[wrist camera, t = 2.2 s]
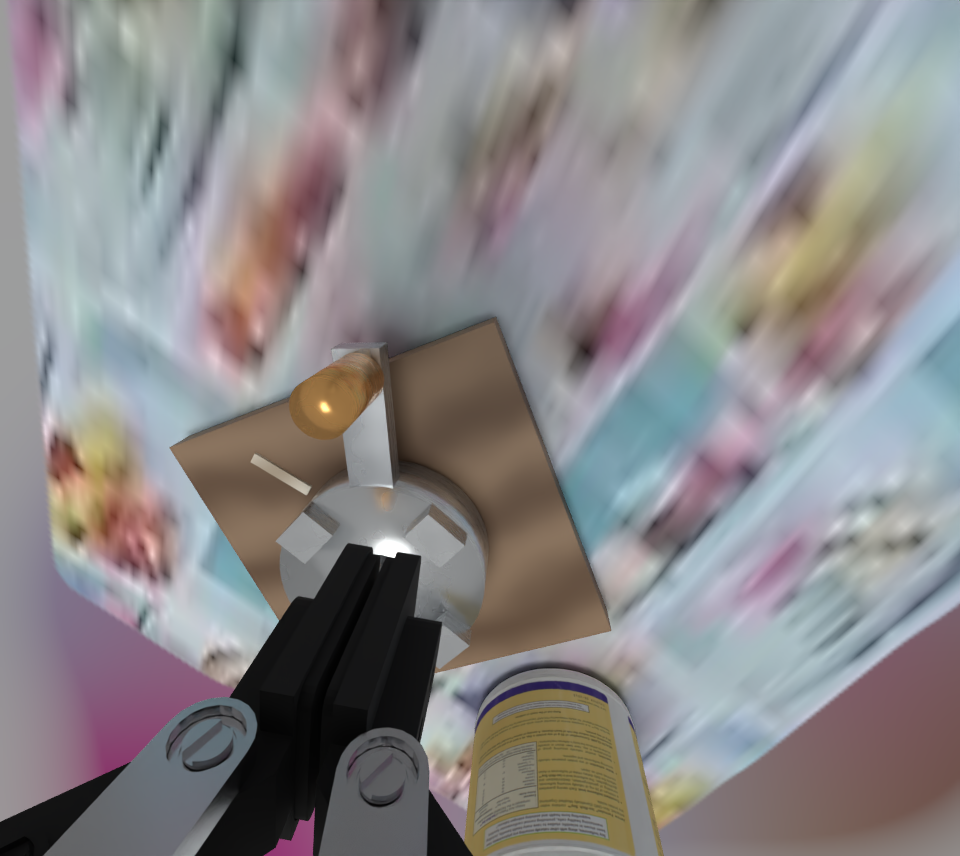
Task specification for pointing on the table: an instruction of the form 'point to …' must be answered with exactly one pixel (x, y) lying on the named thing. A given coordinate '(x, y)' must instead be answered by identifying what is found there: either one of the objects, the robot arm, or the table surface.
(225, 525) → the nut board
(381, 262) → the table surface
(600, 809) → the supplement tub
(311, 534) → the silver and gold piece
